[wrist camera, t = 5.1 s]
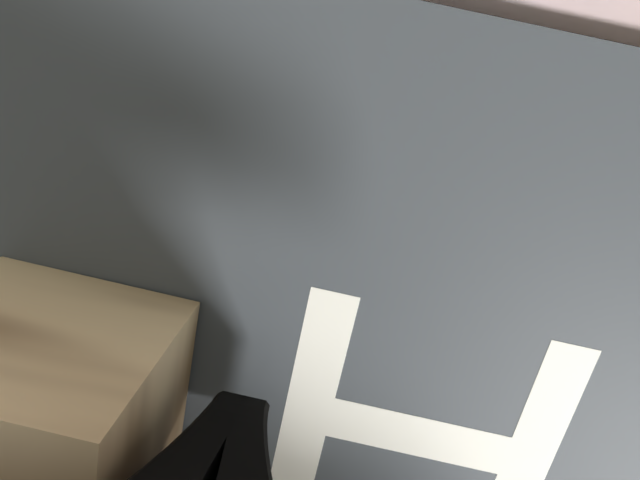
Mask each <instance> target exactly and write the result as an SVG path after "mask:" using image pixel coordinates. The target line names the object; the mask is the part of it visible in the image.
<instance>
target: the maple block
mask: <svg viewBox="0 0 640 480" xmlns="http://www.w3.org/2000/svg"><path fill="white" fill-rule="evenodd" d="M199 307H200V302H197V301H193V300H189V299H184V298H180V297H176V296H171V295H167V294H163V293H158V292H154V291H150V290H145V289H141V288H137V287H132V286H128V285H124V284H119V283H115V282H111V281H106V280H102V279H98V278H94V277H89V276H85V275H81V274H76V273H72V272H68V271H63V270H59V269H55V268H50V267H46V266H42V265H37V264H33V263H29V262H24V261H20V260H16V259H11V258H7V257H3V256H2V257H0V480H127V479H128V478H129V477H131V476H132V475H133V474H135V473H136V472H137V471H138V470H140V469H141V468H142V467H144V466H145V465H146V464H147V463H148V462H149V461H151V460H152V459H153V458H154V457H155V456H156V455H158V454H159V453H160V452H161V451H162V450H164V449H165V448H166V447H167V446H168V445H169V444H170V443H171V442H172V441H174V440H175V439H176V438H177V437H178V436H179V435H180V434H181V433H182V429H183V422H184V415H185V407H186V400H187V393H188V386H189V379H190V372H191V364H192V357H193V350H194V343H195V336H196V328H197V321H198V314H199Z"/></svg>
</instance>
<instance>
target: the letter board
mask: <svg viewBox="0 0 640 480" xmlns="http://www.w3.org/2000/svg"><path fill="white" fill-rule="evenodd" d="M2 256H3V257H7V258H11V259H16V260H20V261H24V262H29V263H33V264H37V265H42V266H46V267H50V268H55V269H59V270H63V271H68V272H72V273H76V274H81V275H85V276H89V277H94V278H98V279H102V280H106V281H111V282H115V283H119V284H124V285H128V286H132V287H137V288H141V289H145V290H150V291H154V292H158V293H163V294H167V295H171V296H176V297H180V298H184V299H189V300H193V301H197V302H200V307H199V314H198V321H197V328H196V336H195V343H194V350H193V357H192V364H191V372H190V379H189V386H188V393H187V400H186V407H185V415H184V422H183V429H182V432H183V431H184V430H185V429H186V428H187V427H188V426H189V425H190V424H191V423H192V422H193V421H194V420H195V419H196V418H197V417H198V416H199V415H200V414H201V413H202V411H203V410H204V409H205V408H206V407H207V406H208V405H209V404H210V402H211V401H212V400H213V399H214V397H215V396H216V395H217V394H218V393H219V392H221V391H227V392H231V393H236V394H240V395H245V396H249V397H254V398H258V399H262V400H266V401H267V402H268V404H269V405H270V407H269V412H268V421H267V434H268V450H269V458H270V465H271V473H272V478H273V480H640V47H636V46H631V45H627V44H622V43H617V42H613V41H608V40H603V39H599V38H594V37H589V36H585V35H580V34H575V33H571V32H566V31H561V30H557V29H552V28H548V27H543V26H538V25H534V24H529V23H524V22H520V21H515V20H510V19H506V18H501V17H496V16H492V15H487V14H482V13H478V12H473V11H468V10H464V9H459V8H454V7H450V6H445V5H440V4H436V3H431V2H426V1H422V0H0V257H2Z"/></svg>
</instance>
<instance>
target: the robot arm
mask: <svg viewBox="0 0 640 480" xmlns="http://www.w3.org/2000/svg"><path fill="white" fill-rule="evenodd" d="M269 407H270V405H269V404H268V402H267V401H266V400H262V399H258V398H254V397H249V396H245V395H240V394H236V393H231V392H227V391H221V392H219V393H218V394H217V395H216V396H215V397H214V399H213V400H212V401H211V402H210V404H209V405H208V406H207V407H206V408H205V409H204V410H203V411H202V413H201V414H200V415H199V416H198V417H197V418H196V419H195V420H194V421H193V422H192V423H191V424H190V425H189V426H188V427H187V428H186V429H185V430H184V431H183V432H182V433H181V434H180V435H179V436H178V437H177V438H176V439H175V440H174V441H172V442H171V443H170V444H169V445H168V446H167V447H166V448H165V449H164V450H162V451H161V452H160V453H159V454H158V455H156V456H155V457H154V458H153V459H152V460H151V461H149V462H148V463H147V464H146V465H145V466H144V467H142V468H141V469H140V470H138V471H137V472H136V473H135V474H133V475H132V476H131V477H129V478H128V479H127V480H273V478H272V473H271V465H270V458H269V450H268V434H267V421H268V412H269Z"/></svg>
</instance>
